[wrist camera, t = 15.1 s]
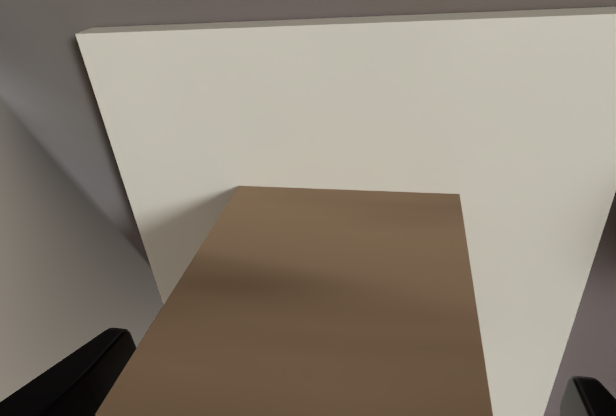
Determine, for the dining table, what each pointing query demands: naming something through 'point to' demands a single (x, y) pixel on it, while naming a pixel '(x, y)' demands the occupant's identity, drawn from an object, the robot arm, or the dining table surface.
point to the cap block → (317, 313)
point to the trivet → (385, 144)
